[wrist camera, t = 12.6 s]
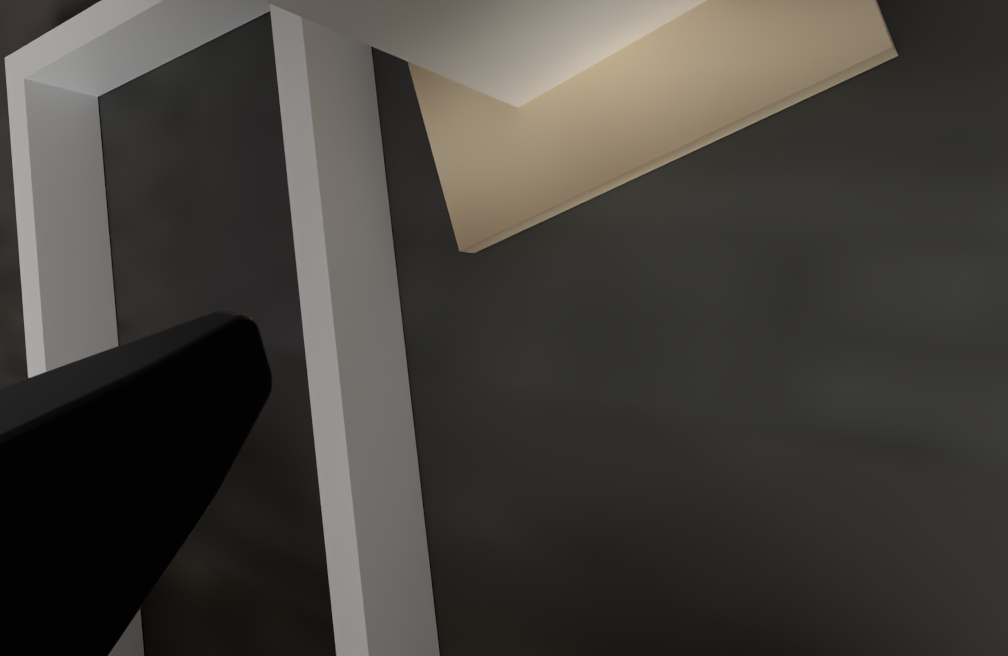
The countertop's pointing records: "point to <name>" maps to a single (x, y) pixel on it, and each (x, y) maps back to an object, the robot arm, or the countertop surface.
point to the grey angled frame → (319, 259)
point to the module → (495, 35)
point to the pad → (637, 107)
